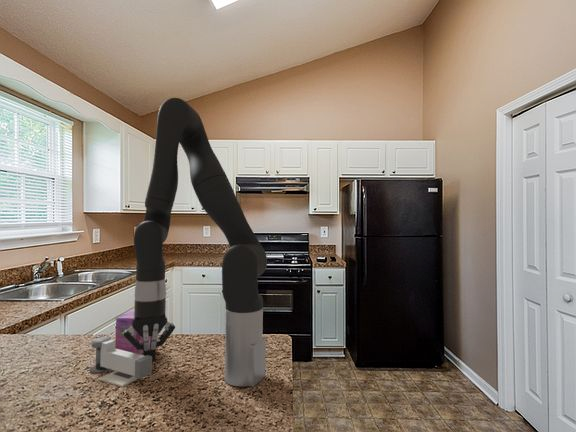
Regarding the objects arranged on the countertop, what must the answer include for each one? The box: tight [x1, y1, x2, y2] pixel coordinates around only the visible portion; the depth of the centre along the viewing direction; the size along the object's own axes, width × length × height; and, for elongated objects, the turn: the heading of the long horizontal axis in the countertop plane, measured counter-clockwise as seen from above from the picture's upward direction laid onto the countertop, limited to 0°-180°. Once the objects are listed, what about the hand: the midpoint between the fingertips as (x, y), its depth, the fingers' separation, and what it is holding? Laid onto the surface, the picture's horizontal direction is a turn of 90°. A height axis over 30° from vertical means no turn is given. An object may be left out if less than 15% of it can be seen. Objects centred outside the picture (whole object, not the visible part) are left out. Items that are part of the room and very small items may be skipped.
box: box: [114, 308, 150, 355], centre depth 95 cm, size 10×6×12 cm, turn 179°
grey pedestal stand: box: [89, 348, 111, 374], centre depth 85 cm, size 5×5×6 cm
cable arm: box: [91, 336, 153, 380], centre depth 82 cm, size 18×4×6 cm, turn 65°
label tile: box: [98, 370, 138, 388], centre depth 81 cm, size 8×8×1 cm
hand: (149, 363), depth 85 cm, fingers closed
